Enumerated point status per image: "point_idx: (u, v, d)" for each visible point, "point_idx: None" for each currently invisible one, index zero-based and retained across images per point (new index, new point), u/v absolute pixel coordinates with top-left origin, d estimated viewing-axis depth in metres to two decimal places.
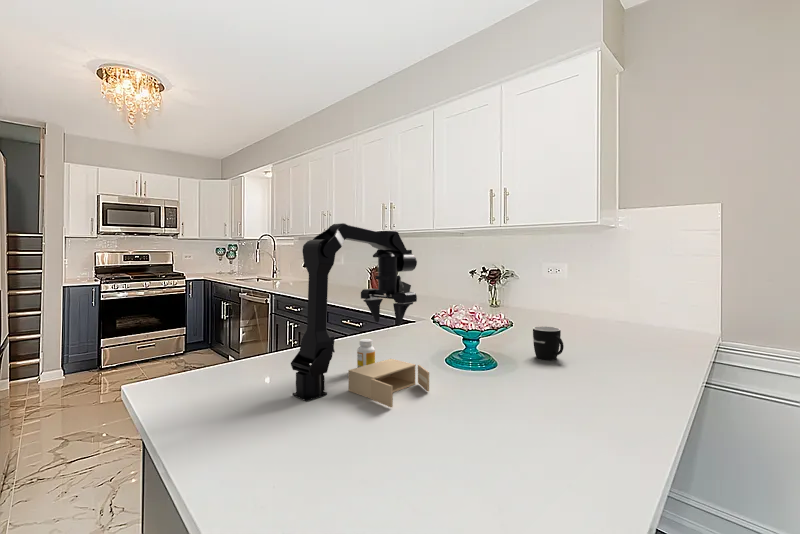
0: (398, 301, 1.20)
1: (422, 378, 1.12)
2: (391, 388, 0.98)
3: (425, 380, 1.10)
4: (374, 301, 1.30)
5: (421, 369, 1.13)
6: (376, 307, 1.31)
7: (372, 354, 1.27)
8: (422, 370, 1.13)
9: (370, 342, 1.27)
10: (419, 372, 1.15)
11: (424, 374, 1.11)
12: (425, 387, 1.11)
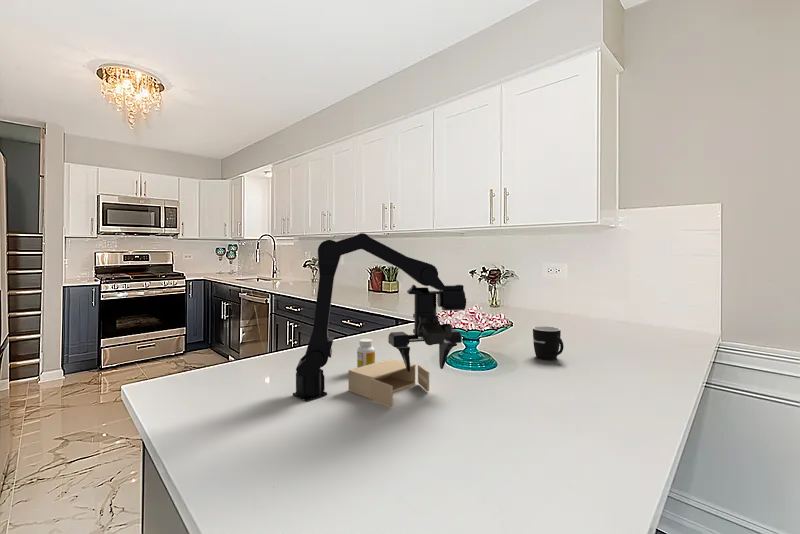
0: None
1: (422, 378, 1.12)
2: (391, 388, 0.98)
3: (425, 380, 1.10)
4: (442, 343, 1.13)
5: (421, 369, 1.13)
6: (442, 351, 1.12)
7: (372, 354, 1.27)
8: (422, 370, 1.13)
9: (370, 342, 1.27)
10: (419, 372, 1.15)
11: (424, 374, 1.11)
12: (425, 387, 1.11)
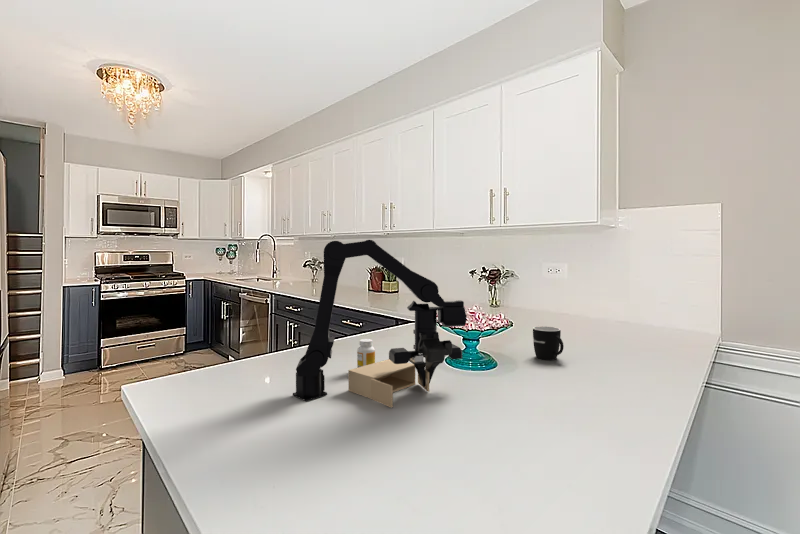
0: None
1: None
2: (391, 388, 0.98)
3: None
4: None
5: None
6: (427, 368, 1.11)
7: (372, 354, 1.27)
8: None
9: (370, 342, 1.27)
10: None
11: None
12: (425, 387, 1.11)
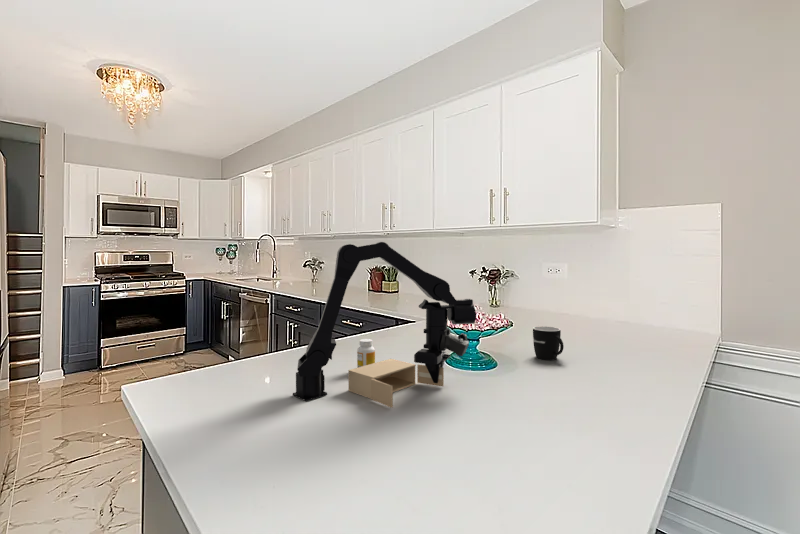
0: None
1: (430, 376, 1.15)
2: (391, 388, 0.98)
3: None
4: None
5: None
6: None
7: (372, 354, 1.27)
8: None
9: (370, 342, 1.27)
10: (422, 371, 1.16)
11: None
12: (437, 383, 1.14)
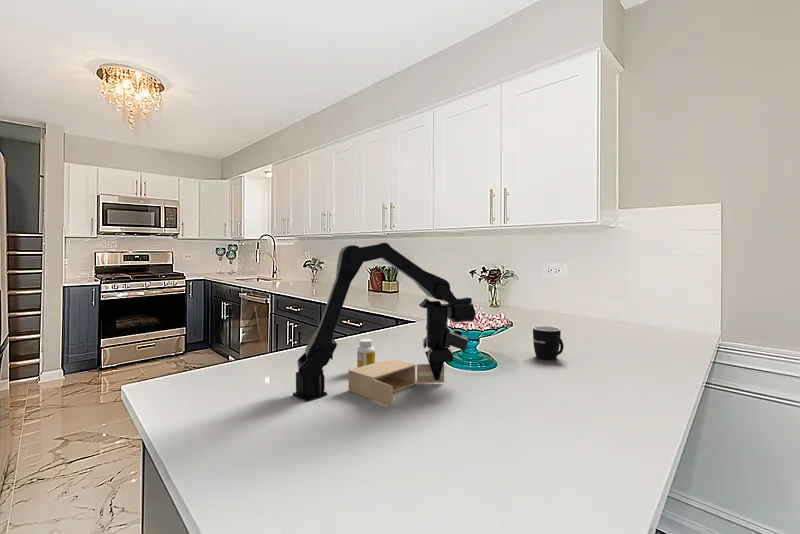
0: (428, 358, 1.09)
1: (431, 374, 1.16)
2: (391, 388, 0.98)
3: None
4: None
5: (427, 366, 1.16)
6: None
7: (372, 354, 1.27)
8: None
9: (370, 342, 1.27)
10: (422, 370, 1.16)
11: None
12: (438, 380, 1.17)
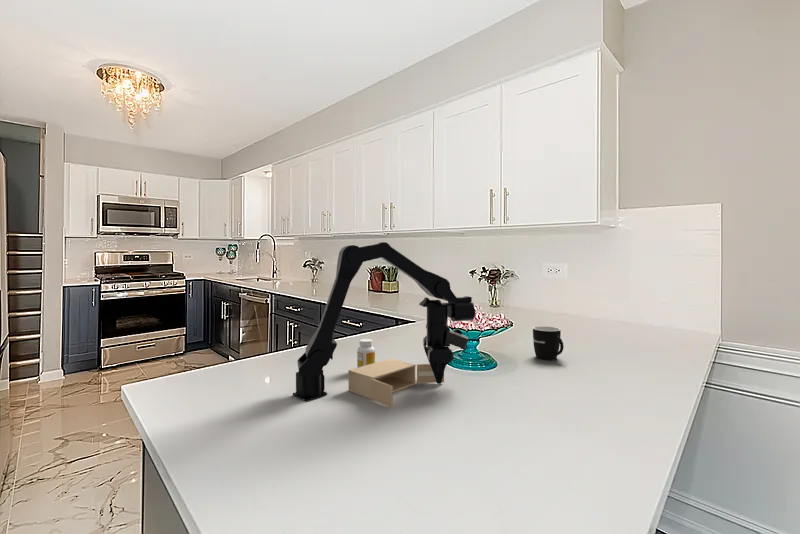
0: (428, 357, 1.09)
1: (431, 374, 1.16)
2: (391, 388, 0.98)
3: None
4: None
5: (427, 366, 1.16)
6: None
7: (372, 354, 1.27)
8: (430, 366, 1.16)
9: (370, 342, 1.27)
10: (422, 370, 1.16)
11: None
12: None
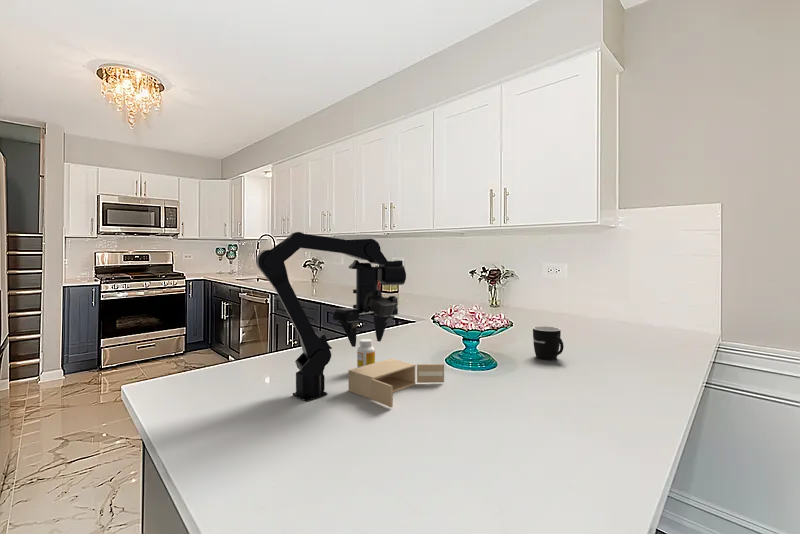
0: None
1: (431, 374, 1.16)
2: (391, 388, 0.98)
3: (439, 373, 1.16)
4: (378, 317, 1.17)
5: (427, 366, 1.16)
6: (379, 324, 1.17)
7: (372, 354, 1.27)
8: (430, 366, 1.16)
9: (370, 342, 1.27)
10: (422, 370, 1.16)
11: (436, 368, 1.17)
12: (438, 380, 1.17)
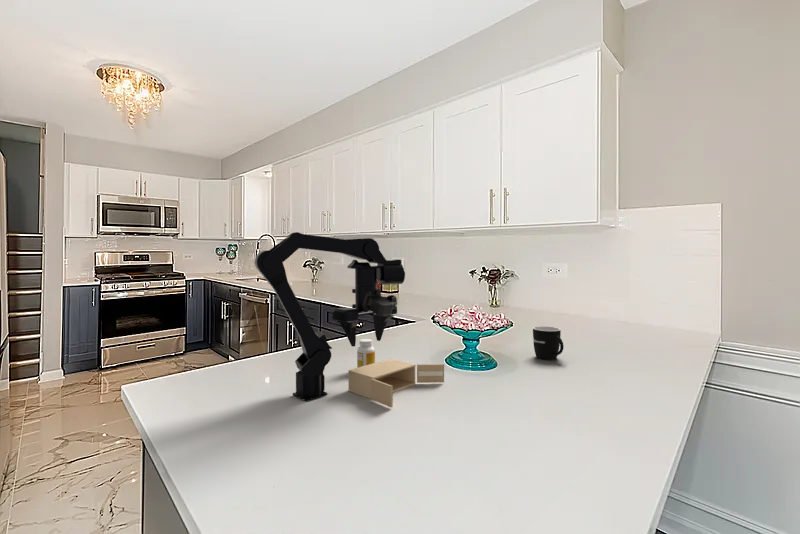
0: None
1: (431, 374, 1.16)
2: (391, 388, 0.98)
3: (439, 373, 1.16)
4: (377, 316, 1.17)
5: (427, 366, 1.16)
6: (378, 324, 1.17)
7: (372, 354, 1.27)
8: (430, 366, 1.16)
9: (370, 342, 1.27)
10: (422, 370, 1.16)
11: (436, 368, 1.17)
12: (438, 380, 1.17)
